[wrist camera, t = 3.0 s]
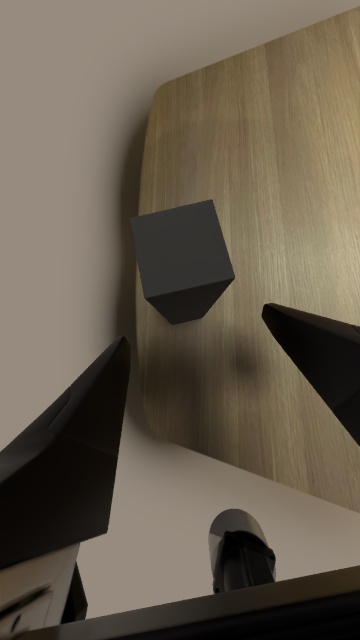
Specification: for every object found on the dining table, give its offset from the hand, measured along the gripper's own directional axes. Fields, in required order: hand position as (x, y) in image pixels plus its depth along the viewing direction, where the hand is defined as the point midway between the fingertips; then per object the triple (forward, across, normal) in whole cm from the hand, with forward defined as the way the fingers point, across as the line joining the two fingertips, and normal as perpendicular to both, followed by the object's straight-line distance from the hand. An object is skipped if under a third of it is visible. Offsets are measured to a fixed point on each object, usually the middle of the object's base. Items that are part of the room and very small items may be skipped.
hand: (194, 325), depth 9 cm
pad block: (+10, 0, +5) cm, 11 cm away
